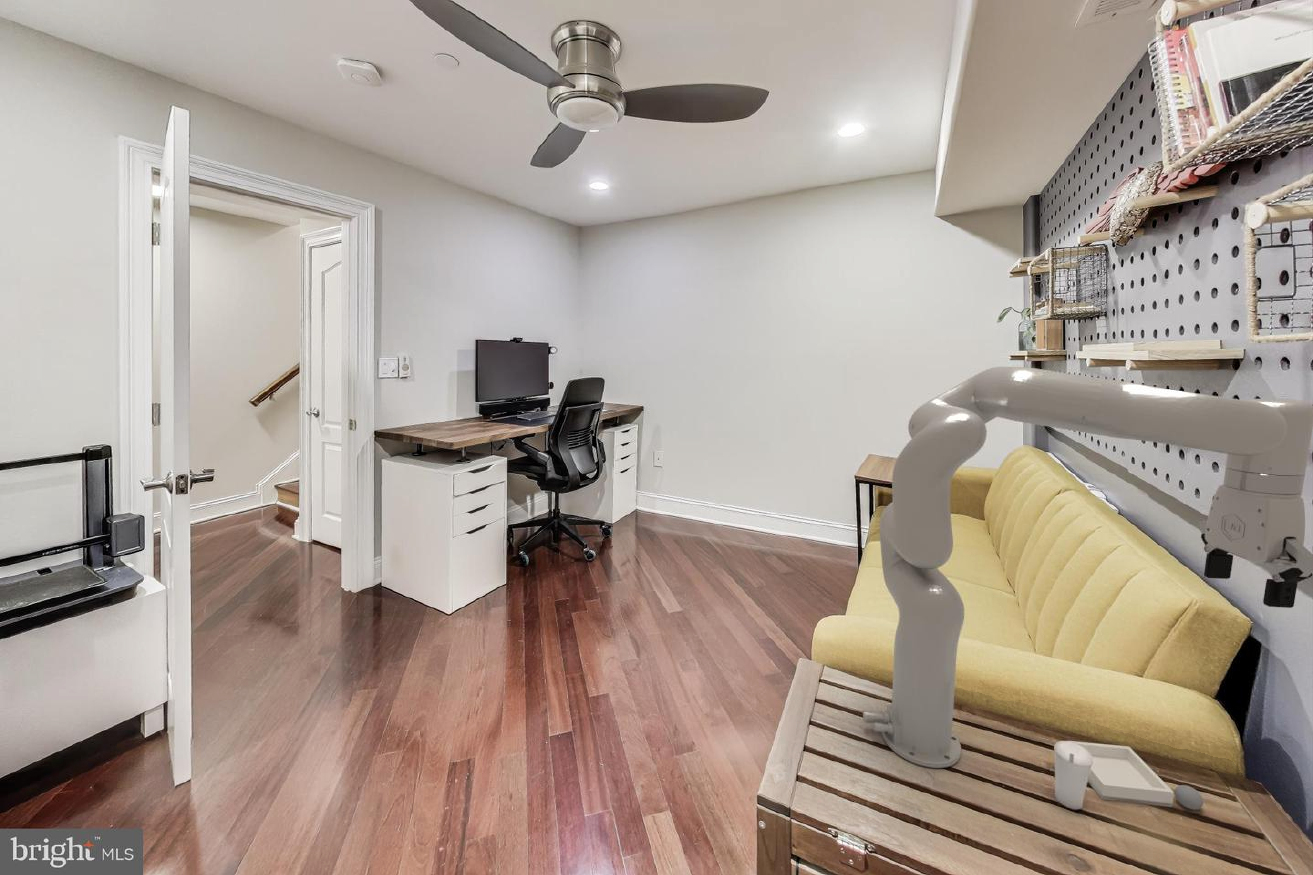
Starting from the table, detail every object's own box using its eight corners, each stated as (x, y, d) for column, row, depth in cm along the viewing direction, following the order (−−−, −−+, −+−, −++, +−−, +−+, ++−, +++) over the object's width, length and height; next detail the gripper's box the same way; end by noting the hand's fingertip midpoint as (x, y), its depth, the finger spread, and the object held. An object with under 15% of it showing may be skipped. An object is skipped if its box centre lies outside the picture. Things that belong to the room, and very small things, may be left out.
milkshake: (1046, 804, 77) (1052, 745, 75) (1052, 783, 80) (1057, 726, 79) (1085, 823, 74) (1092, 762, 72) (1089, 800, 77) (1096, 741, 76)
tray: (1102, 799, 77) (1103, 784, 77) (1065, 753, 86) (1066, 740, 86) (1172, 807, 76) (1174, 792, 75) (1127, 759, 85) (1129, 746, 84)
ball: (1184, 813, 75) (1186, 795, 74) (1167, 796, 78) (1170, 778, 77) (1208, 815, 74) (1210, 797, 74) (1190, 798, 77) (1193, 781, 77)
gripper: (1183, 469, 84) (1170, 567, 86) (1292, 497, 67) (1273, 617, 69) (1237, 470, 82) (1222, 569, 85) (1362, 498, 66) (1339, 621, 68)
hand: (1245, 591), depth 77 cm, fingers open, 9 cm apart
